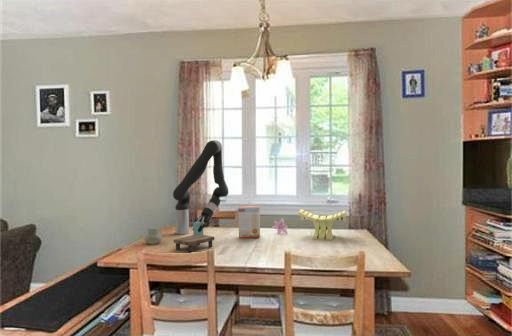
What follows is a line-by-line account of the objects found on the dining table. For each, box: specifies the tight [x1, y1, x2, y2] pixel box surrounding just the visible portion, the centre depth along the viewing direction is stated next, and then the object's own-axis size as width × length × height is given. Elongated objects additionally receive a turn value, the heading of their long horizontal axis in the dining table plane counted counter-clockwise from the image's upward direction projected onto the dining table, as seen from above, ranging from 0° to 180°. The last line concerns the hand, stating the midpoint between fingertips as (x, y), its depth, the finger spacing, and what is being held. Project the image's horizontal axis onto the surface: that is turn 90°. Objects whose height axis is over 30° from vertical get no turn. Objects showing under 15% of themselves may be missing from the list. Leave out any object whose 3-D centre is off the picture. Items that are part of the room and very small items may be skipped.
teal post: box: [192, 221, 204, 235], centre depth 265 cm, size 4×4×12 cm
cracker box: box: [237, 205, 261, 239], centre depth 273 cm, size 14×6×21 cm, turn 84°
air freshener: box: [144, 226, 163, 245], centre depth 258 cm, size 11×8×10 cm
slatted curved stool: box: [297, 208, 347, 241], centre depth 271 cm, size 30×16×18 cm, turn 75°
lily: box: [271, 217, 289, 236], centre depth 286 cm, size 12×12×10 cm
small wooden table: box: [173, 234, 215, 253], centre depth 244 cm, size 14×20×6 cm
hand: (196, 230), depth 263 cm, fingers closed on teal post, 4 cm apart
